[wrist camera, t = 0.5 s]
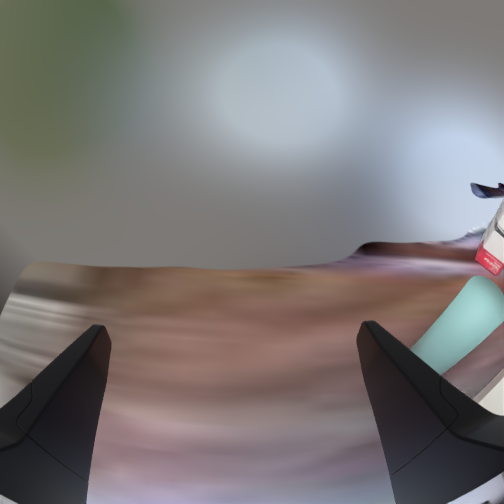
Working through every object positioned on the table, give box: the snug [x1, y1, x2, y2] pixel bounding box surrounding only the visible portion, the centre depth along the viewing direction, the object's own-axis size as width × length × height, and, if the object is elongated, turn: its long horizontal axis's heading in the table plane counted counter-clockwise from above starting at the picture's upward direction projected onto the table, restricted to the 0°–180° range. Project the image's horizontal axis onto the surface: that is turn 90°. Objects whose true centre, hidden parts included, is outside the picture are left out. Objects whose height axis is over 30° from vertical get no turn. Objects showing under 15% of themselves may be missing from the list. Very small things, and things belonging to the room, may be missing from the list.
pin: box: [410, 276, 504, 376], centre depth 20 cm, size 4×4×12 cm
